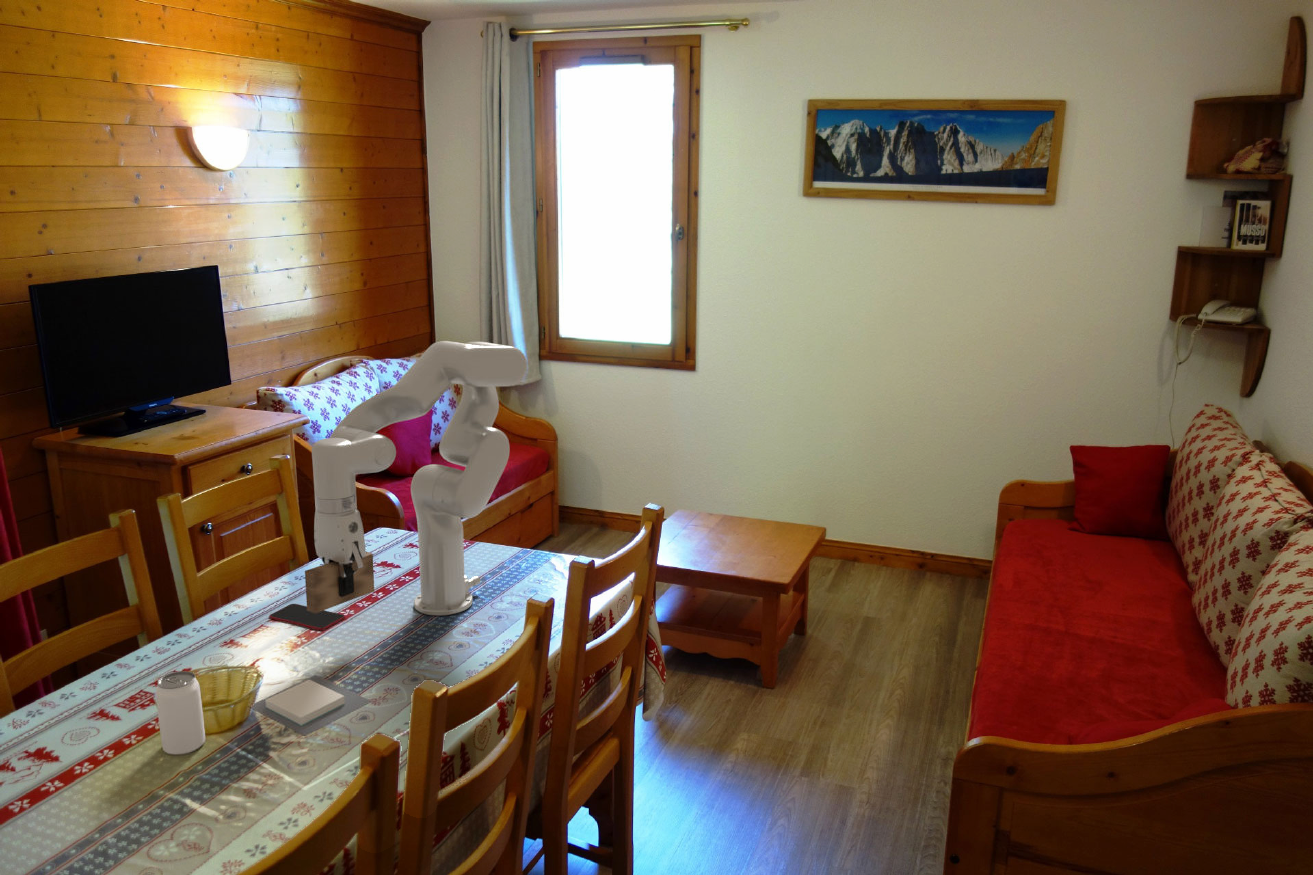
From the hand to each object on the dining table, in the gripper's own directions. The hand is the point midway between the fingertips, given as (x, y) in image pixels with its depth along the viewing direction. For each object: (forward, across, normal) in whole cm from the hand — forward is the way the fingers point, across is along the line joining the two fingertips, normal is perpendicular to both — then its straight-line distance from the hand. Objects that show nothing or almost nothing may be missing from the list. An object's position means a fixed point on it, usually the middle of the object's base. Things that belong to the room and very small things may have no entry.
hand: (341, 591), depth 193 cm
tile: (+11, -13, +14) cm, 22 cm away
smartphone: (+13, +18, -4) cm, 23 cm away
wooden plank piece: (+2, 0, 0) cm, 2 cm away
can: (+13, -7, +38) cm, 40 cm away
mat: (+12, -13, +18) cm, 25 cm away
